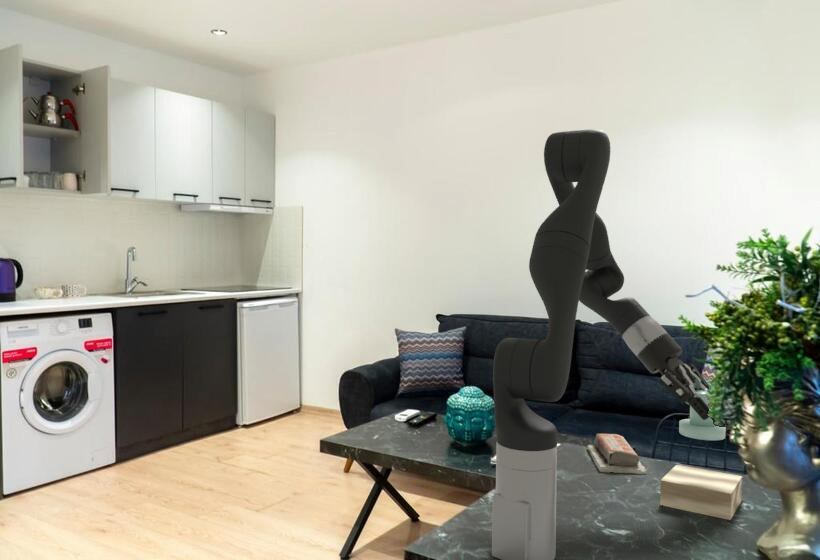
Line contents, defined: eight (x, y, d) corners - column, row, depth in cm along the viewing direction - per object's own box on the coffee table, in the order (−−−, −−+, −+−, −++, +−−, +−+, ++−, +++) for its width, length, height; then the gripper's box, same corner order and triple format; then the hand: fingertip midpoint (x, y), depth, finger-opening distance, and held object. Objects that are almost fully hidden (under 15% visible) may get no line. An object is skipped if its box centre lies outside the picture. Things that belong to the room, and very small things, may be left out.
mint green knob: (716, 443, 118) (718, 399, 118) (672, 434, 123) (673, 392, 123) (731, 434, 124) (732, 392, 123) (688, 426, 129) (689, 386, 129)
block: (730, 521, 115) (731, 493, 115) (660, 506, 122) (660, 480, 122) (741, 502, 125) (742, 476, 125) (675, 489, 132) (676, 464, 132)
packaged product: (586, 430, 159) (629, 432, 158) (586, 450, 159) (628, 452, 158) (600, 451, 141) (647, 454, 140) (599, 474, 141) (647, 476, 140)
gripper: (650, 334, 123) (716, 409, 115) (678, 329, 133) (741, 397, 125) (622, 359, 127) (684, 433, 119) (652, 352, 137) (711, 420, 129)
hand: (713, 414), depth 122 cm, fingers closed on mint green knob, 4 cm apart
